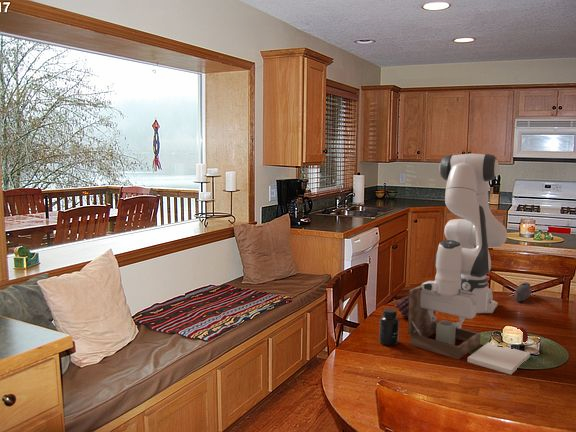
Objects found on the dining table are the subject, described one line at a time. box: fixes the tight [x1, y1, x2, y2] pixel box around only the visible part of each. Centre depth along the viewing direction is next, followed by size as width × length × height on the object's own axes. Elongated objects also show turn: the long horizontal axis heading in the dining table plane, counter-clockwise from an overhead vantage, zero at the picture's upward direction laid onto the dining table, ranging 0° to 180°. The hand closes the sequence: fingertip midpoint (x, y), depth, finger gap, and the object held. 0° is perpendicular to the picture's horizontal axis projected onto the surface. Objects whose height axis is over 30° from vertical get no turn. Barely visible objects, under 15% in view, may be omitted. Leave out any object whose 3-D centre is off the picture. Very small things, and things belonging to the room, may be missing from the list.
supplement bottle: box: [378, 308, 400, 346], centre depth 186 cm, size 7×7×12 cm
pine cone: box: [394, 295, 436, 319], centre depth 212 cm, size 18×10×10 cm, turn 52°
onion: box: [515, 324, 529, 343], centre depth 183 cm, size 6×6×8 cm
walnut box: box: [407, 285, 482, 360], centre depth 184 cm, size 18×19×20 cm
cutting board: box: [467, 341, 531, 376], centre depth 173 cm, size 18×14×2 cm
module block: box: [435, 319, 457, 346], centre depth 185 cm, size 5×5×8 cm
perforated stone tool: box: [514, 281, 532, 302], centre depth 239 cm, size 15×5×7 cm, turn 139°
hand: (445, 324), depth 184 cm, fingers open, 8 cm apart
